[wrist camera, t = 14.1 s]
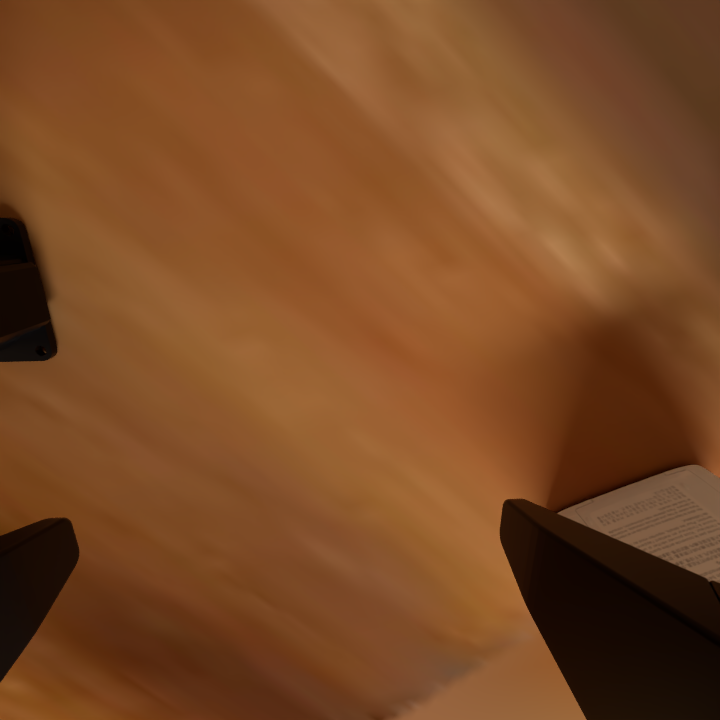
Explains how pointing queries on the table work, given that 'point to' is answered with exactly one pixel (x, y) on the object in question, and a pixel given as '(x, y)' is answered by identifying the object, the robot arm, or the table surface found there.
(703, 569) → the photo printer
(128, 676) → the table surface
